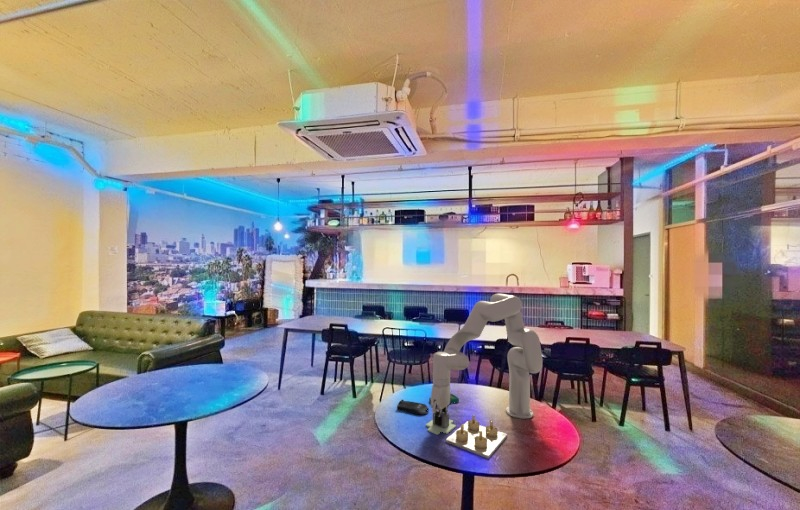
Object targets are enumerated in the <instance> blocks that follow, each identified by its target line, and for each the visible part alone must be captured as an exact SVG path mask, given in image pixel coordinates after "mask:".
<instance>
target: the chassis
mask: <svg viewBox="0 0 800 510" xmlns="http://www.w3.org/2000/svg"><path fill="white" fill-rule="evenodd" d="M507 438H508V434H507V433H505V432H502V431H499V430H498V427H496V426H494V420H492V419H491V420H490V421H489V425H486V426H483V425H481V424H480V421H478V420H476V414H472V418H471V419H469V420H468V421H466V422H465V423H463V424H460V427H458V428H457V429H456V430H455V431H454V432H453V433H452V434H450V435H449V436H448V437H447V438H446V439H445V443H446V442H447V444H450V445H451V444H452V445H451V446H454V447H457V448H459V447H460V449H461V450H465V451H468V452H470V453H473V454H475V455H478V456H481V457H483V458H486V459H490V458H491V457H492V456H493V454H494V453H495V452H496V451H497V450H498V449H499V447H500V446H501V445H502V444H501V443H503V442H505V440H507ZM495 450H496V451H495Z"/></svg>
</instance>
